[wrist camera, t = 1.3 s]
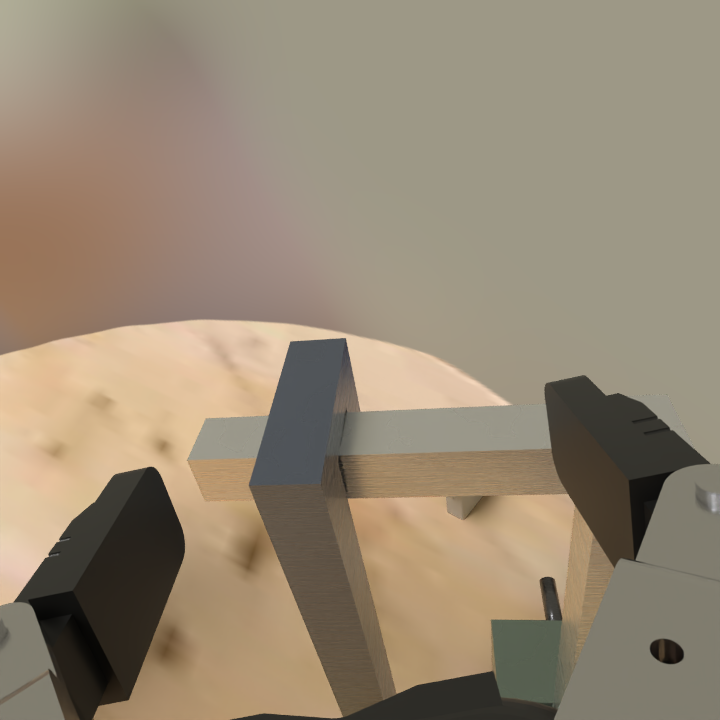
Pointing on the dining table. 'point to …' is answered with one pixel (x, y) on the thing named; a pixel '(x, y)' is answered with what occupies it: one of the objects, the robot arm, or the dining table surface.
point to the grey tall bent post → (455, 478)
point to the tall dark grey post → (321, 520)
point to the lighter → (461, 505)
